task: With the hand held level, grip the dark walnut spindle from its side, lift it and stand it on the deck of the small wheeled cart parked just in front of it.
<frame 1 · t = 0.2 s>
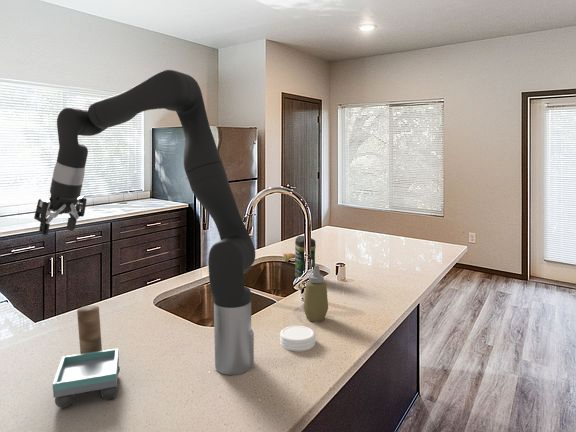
hand: (57, 231, 116), 31 cm above the worktop, tool tilted 20°, fingers open, 8 cm apart
coffee jar: (304, 279, 174), on the worktop
pastry: (290, 261, 203), on the worktop
squeeze bottle: (315, 319, 132), on the worktop
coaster: (297, 344, 115), on the worktop
walnut spindle: (91, 360, 105), on the worktop
wheeled cart: (89, 377, 91), point 3 cm above the worktop, slide at 0.0 cm
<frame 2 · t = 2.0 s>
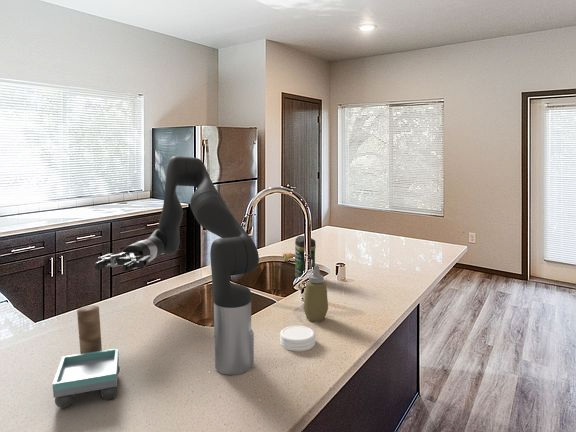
hand: (110, 267, 113), 22 cm above the worktop, tool horizontal, fingers open, 8 cm apart
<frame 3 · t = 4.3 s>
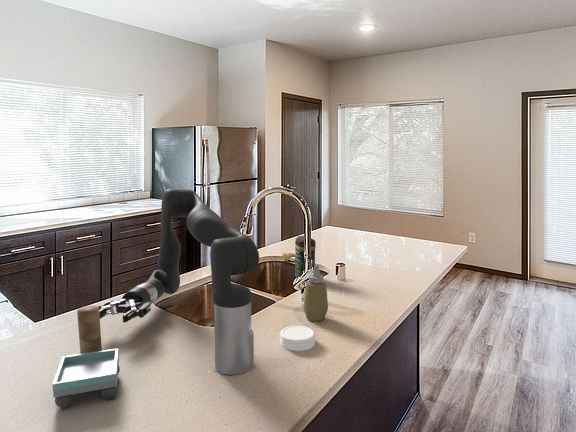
hand: (109, 318, 112), 8 cm above the worktop, tool horizontal, fingers open, 8 cm apart
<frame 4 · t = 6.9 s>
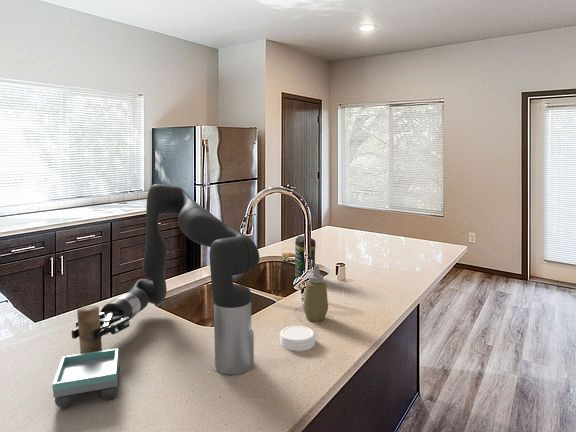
hand: (83, 335, 101), 8 cm above the worktop, tool horizontal, fingers closed on walnut spindle, 5 cm apart
walnut spindle: (92, 360, 105), on the worktop, touching gripper
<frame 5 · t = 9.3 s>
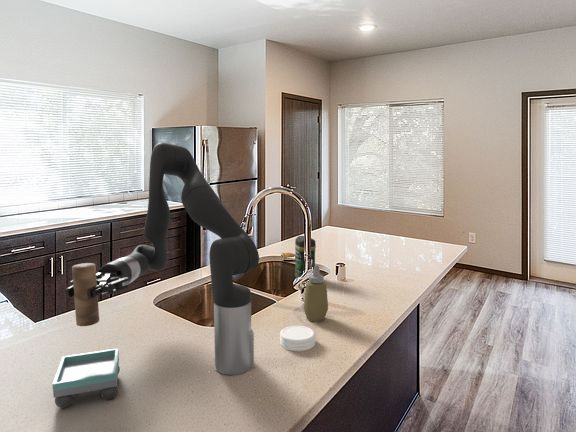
hand: (78, 293, 94), 21 cm above the worktop, tool horizontal, fingers closed on walnut spindle, 5 cm apart
walnut spindle: (88, 321, 98), point 13 cm above the worktop, touching gripper
when the fingers open (14 cm above the worktop, at t = 12.0 s): walnut spindle drops 1 cm, resting on wheeled cart.
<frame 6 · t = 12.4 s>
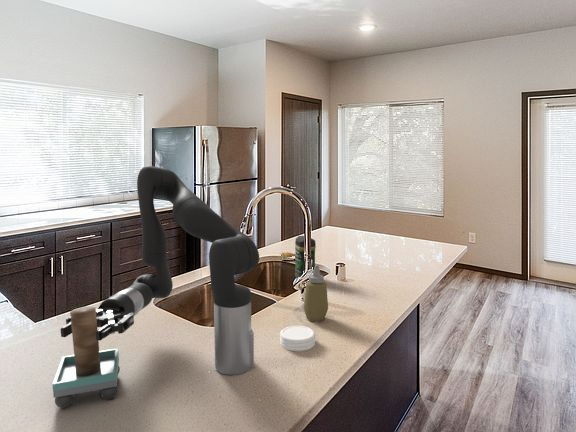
hand: (79, 334, 87), 14 cm above the worktop, tool horizontal, fingers open, 8 cm apart
walnut spindle: (88, 370, 90), point 5 cm above the worktop, touching wheeled cart
wheeled cart: (89, 377, 91), point 3 cm above the worktop, slide at 0.0 cm, touching walnut spindle
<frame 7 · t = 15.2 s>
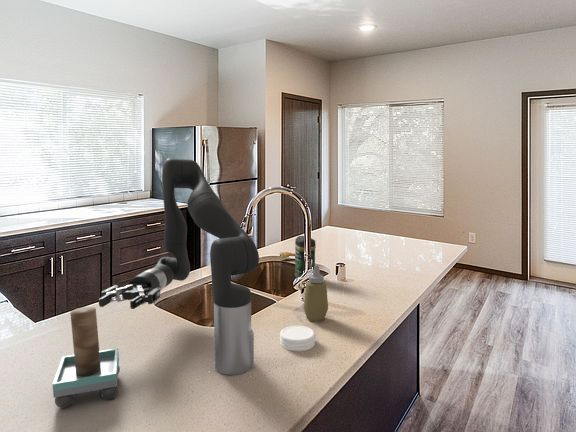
hand: (115, 304, 101), 16 cm above the worktop, tool horizontal, fingers open, 8 cm apart
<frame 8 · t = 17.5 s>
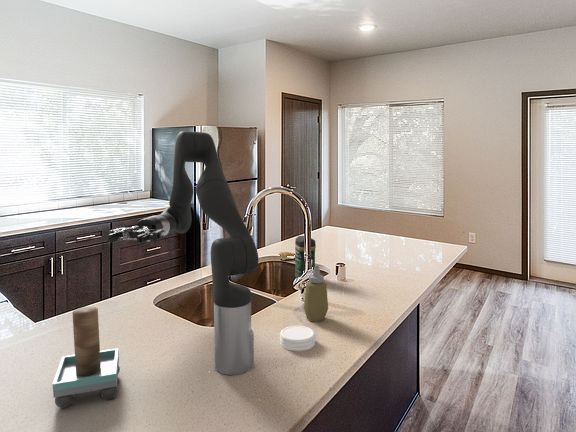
hand: (123, 239, 110), 30 cm above the worktop, tool horizontal, fingers open, 8 cm apart
at the end: walnut spindle inside the target area on the wheeled cart (0.1 cm from its centre), point 5.1 cm above the wheeled cart's base; walnut spindle tilted 1°; the gripper is holding nothing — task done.
